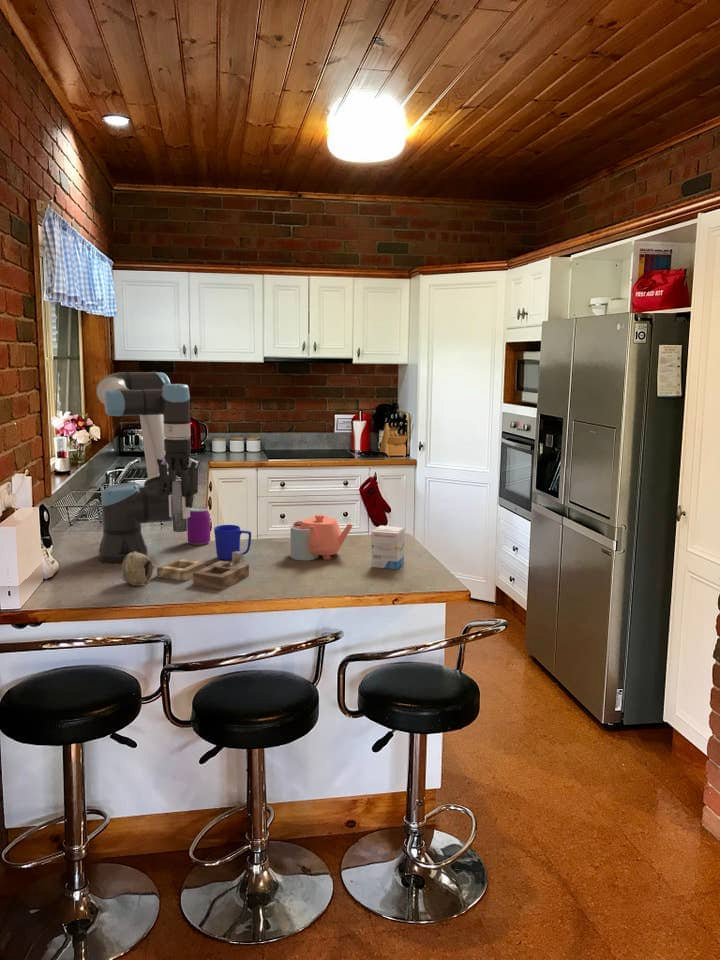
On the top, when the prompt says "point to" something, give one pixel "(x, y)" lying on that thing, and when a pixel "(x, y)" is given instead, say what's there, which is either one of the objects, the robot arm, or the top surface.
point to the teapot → (324, 535)
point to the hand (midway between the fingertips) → (179, 516)
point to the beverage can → (198, 526)
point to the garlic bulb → (137, 569)
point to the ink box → (388, 547)
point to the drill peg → (178, 507)
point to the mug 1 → (229, 540)
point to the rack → (180, 569)
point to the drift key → (237, 558)
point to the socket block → (220, 575)
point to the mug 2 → (300, 543)
